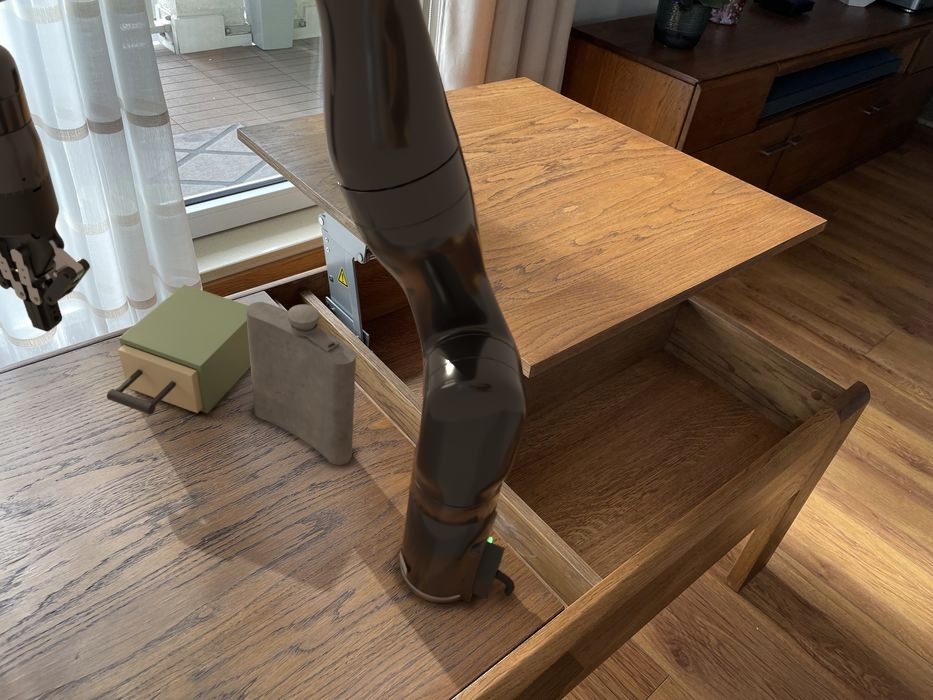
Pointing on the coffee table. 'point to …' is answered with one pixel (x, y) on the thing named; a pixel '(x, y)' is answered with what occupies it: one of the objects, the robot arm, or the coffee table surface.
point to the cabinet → (197, 338)
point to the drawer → (156, 382)
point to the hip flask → (302, 377)
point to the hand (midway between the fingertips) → (48, 325)
